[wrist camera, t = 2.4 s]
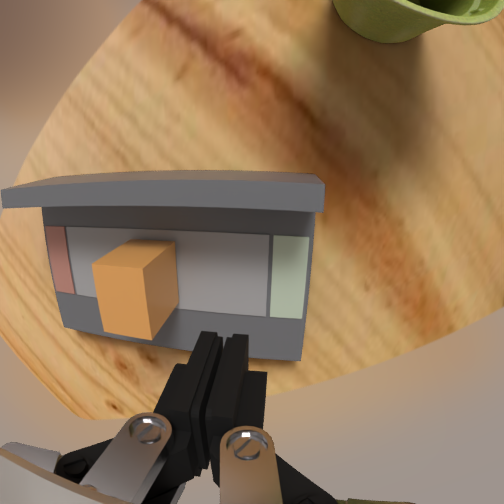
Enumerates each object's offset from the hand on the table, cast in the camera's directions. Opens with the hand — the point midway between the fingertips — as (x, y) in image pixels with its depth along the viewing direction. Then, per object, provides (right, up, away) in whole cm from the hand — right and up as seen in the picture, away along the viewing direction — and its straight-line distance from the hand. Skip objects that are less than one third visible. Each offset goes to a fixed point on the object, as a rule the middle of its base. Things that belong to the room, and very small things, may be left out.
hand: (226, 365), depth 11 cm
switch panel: (-5, +4, +10) cm, 12 cm away
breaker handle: (-5, +3, +8) cm, 10 cm away
